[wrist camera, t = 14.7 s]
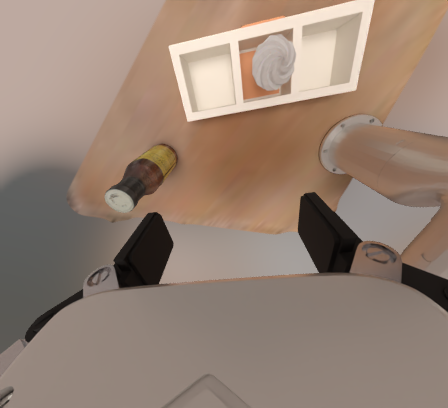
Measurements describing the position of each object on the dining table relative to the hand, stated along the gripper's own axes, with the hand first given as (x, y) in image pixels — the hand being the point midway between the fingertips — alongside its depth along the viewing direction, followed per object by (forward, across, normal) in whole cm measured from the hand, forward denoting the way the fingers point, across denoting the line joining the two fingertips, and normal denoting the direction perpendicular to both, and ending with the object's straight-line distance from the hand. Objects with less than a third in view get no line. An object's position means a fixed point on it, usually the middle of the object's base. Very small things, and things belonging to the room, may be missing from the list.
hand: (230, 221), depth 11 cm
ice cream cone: (+29, -7, -10) cm, 32 cm away
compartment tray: (+30, -7, -10) cm, 33 cm away
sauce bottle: (+31, +16, +2) cm, 34 cm away
